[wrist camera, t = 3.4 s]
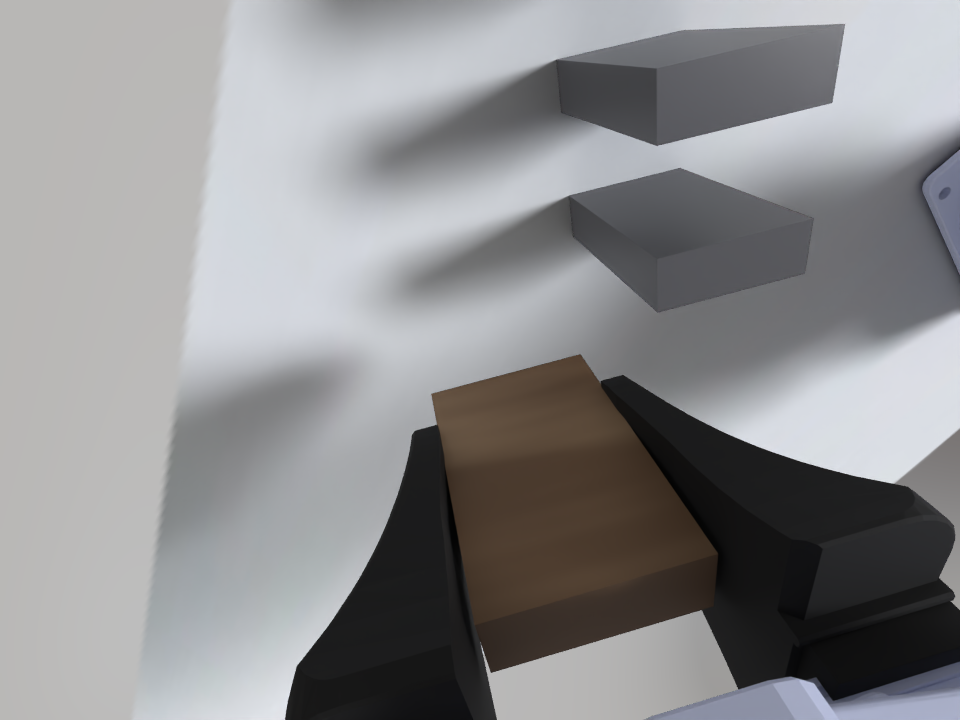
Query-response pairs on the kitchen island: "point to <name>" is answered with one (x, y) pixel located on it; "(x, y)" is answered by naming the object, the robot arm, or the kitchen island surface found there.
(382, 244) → the kitchen island surface
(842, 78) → the kitchen island surface
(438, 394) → the domino
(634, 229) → the domino
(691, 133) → the domino
